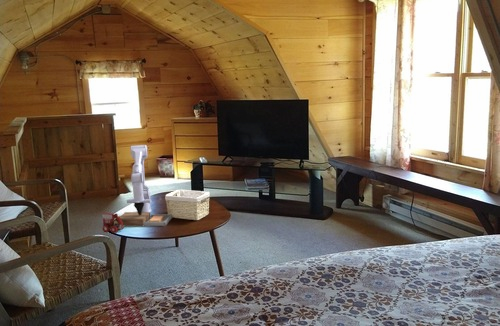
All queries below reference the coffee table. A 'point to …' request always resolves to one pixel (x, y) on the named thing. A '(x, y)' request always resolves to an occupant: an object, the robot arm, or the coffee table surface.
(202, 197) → the storage basket
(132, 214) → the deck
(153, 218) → the tan rectangular block
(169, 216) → the tray
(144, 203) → the robot arm
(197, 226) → the coffee table surface
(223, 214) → the coffee table surface
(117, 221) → the toy fire truck
